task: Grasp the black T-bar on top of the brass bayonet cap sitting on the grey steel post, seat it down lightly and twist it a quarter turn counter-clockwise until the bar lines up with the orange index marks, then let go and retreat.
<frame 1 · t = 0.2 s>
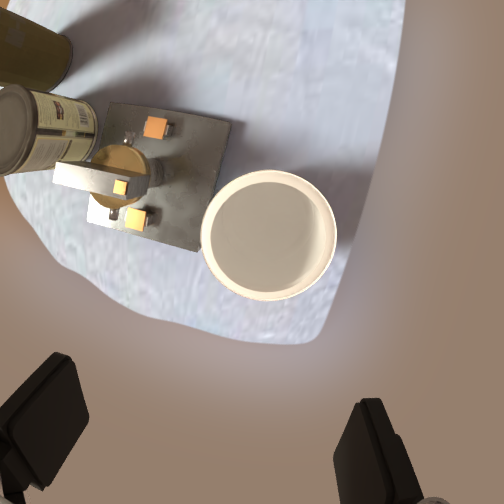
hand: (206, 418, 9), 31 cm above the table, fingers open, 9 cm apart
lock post: (155, 172, 37), on the table
bayonet cap: (107, 177, 25), point 13 cm above the table, hinge at 0.0°
coffee can: (70, 134, 36), on the table
jar: (268, 211, 38), on the table
canister: (48, 63, 33), on the table
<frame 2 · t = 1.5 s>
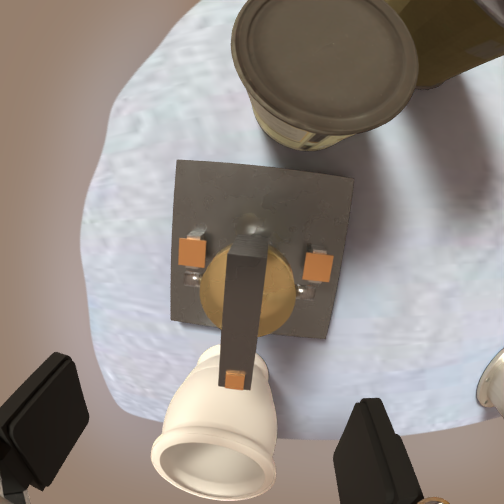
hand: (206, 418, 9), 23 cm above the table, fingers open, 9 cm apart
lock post: (256, 249, 30), on the table
bayonet cap: (245, 303, 18), point 13 cm above the table, hinge at 0.0°
coffee can: (304, 100, 27), on the table
jar: (232, 371, 35), on the table
canister: (410, 46, 24), on the table
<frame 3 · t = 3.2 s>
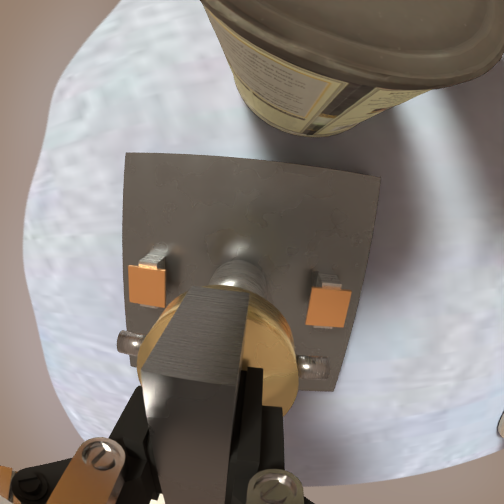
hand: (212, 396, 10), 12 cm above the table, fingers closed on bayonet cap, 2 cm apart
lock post: (241, 276, 22), on the table
bayonet cap: (210, 404, 9), point 13 cm above the table, hinge at 0.0°, touching gripper
coffee can: (307, 67, 18), on the table
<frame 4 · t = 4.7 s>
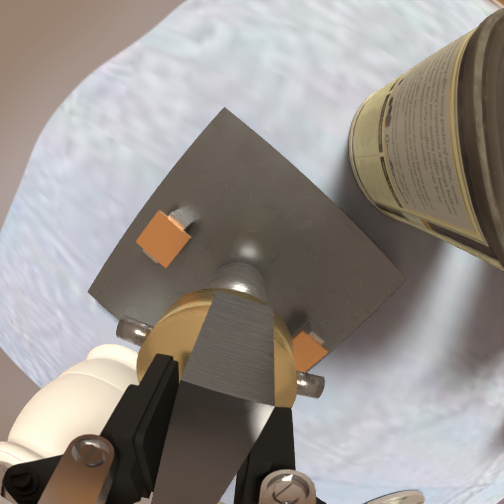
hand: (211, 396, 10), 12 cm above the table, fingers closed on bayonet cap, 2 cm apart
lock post: (240, 278, 22), on the table
bayonet cap: (209, 407, 9), point 13 cm above the table, hinge at 23.4°, touching gripper
coffee can: (413, 152, 19), on the table
jar: (126, 379, 25), on the table
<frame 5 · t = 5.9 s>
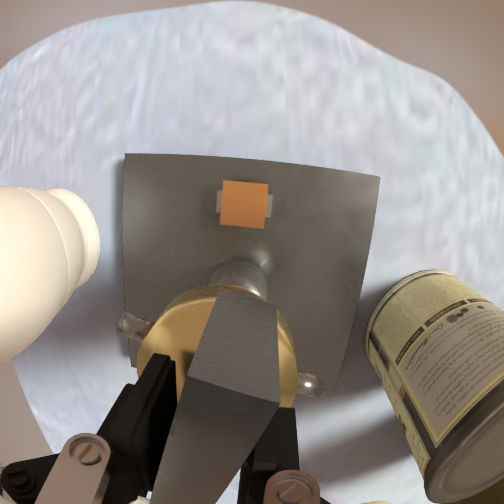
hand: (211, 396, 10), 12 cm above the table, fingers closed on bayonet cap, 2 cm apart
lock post: (241, 276, 22), on the table
bayonet cap: (209, 404, 9), point 13 cm above the table, hinge at 76.2°, touching gripper
coffee can: (420, 325, 22), on the table
jar: (62, 238, 22), on the table
canister: (450, 412, 25), on the table
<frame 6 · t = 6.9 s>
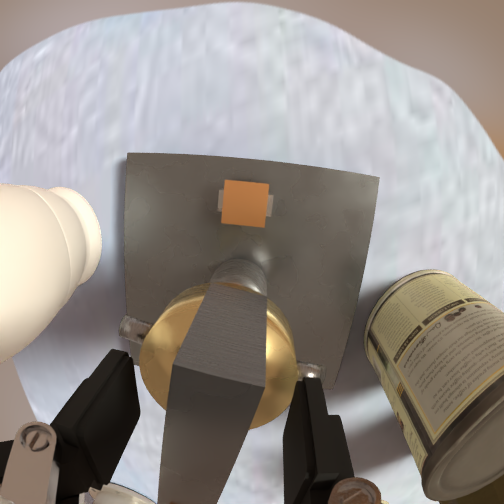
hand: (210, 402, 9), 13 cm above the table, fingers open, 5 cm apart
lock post: (241, 275, 22), on the table
bayonet cap: (211, 399, 10), point 13 cm above the table, hinge at 81.5°
coffee can: (418, 325, 23), on the table
jar: (64, 236, 22), on the table
canister: (449, 411, 25), on the table
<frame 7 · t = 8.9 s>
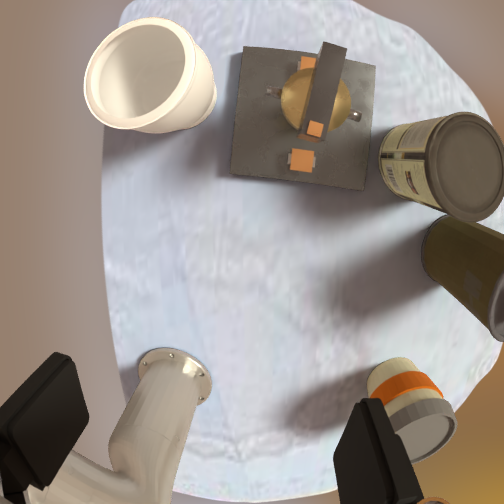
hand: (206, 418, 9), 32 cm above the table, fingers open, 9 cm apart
reusable coffee cup: (391, 377, 45), on the table
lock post: (303, 116, 35), on the table
bayonet cap: (318, 96, 23), point 13 cm above the table, hinge at 82.0°
coffee can: (412, 161, 35), on the table
jar: (184, 98, 35), on the table
canister: (450, 249, 38), on the table
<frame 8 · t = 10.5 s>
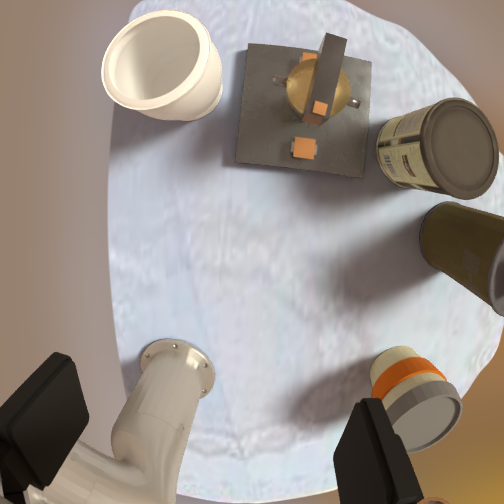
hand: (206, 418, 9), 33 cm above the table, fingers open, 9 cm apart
reusable coffee cup: (393, 366, 46), on the table
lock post: (305, 109, 36), on the table
bayonet cap: (321, 83, 24), point 13 cm above the table, hinge at 82.0°
coffee can: (407, 151, 37), on the table
jar: (191, 92, 37), on the table
canister: (447, 236, 40), on the table
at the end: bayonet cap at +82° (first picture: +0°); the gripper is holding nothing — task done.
